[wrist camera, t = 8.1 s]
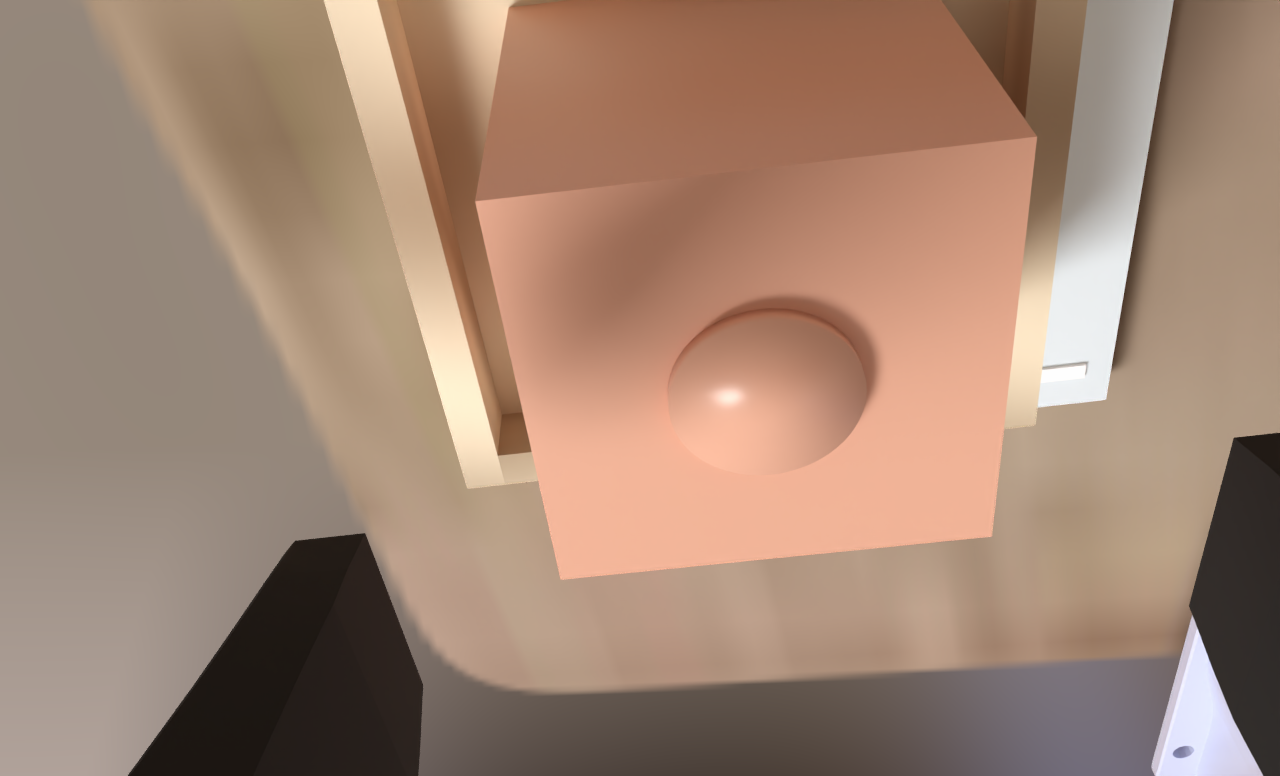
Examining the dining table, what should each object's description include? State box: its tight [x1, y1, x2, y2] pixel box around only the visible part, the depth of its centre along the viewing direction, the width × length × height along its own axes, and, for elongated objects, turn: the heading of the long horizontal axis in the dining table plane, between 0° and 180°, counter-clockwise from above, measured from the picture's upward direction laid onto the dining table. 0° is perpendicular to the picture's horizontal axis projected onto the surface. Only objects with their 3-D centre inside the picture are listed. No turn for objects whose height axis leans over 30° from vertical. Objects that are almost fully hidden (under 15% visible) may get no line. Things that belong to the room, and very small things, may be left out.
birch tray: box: [324, 0, 1088, 489], centre depth 16 cm, size 9×9×3 cm
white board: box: [1038, 0, 1174, 407], centre depth 18 cm, size 14×12×1 cm
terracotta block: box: [475, 0, 1037, 580], centre depth 13 cm, size 5×5×5 cm
